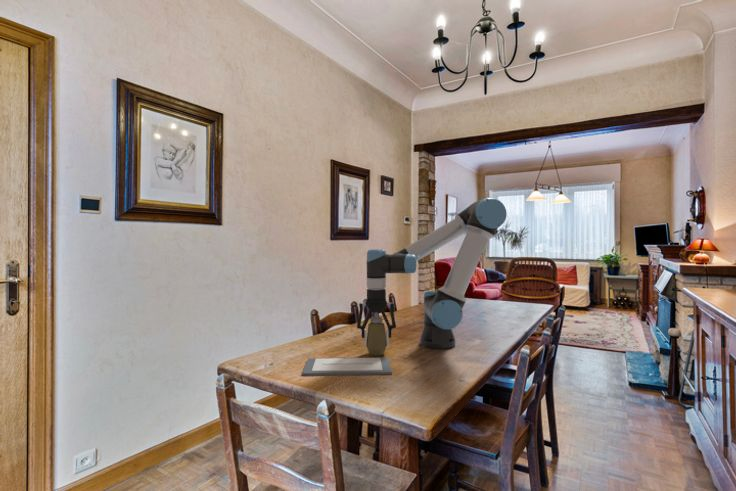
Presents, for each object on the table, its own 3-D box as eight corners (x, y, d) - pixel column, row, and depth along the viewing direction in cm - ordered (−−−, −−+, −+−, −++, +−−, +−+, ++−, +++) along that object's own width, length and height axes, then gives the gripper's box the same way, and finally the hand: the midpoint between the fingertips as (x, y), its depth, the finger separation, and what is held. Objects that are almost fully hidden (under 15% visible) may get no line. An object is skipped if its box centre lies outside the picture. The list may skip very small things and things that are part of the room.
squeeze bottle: (384, 357, 148) (384, 310, 147) (364, 356, 149) (364, 310, 149) (388, 351, 156) (388, 307, 155) (368, 350, 157) (368, 306, 157)
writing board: (387, 359, 146) (387, 356, 146) (391, 374, 130) (391, 371, 130) (308, 360, 145) (308, 357, 145) (302, 375, 129) (302, 372, 129)
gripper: (401, 287, 156) (401, 343, 157) (350, 287, 156) (350, 343, 156) (403, 289, 149) (403, 348, 149) (349, 289, 148) (350, 348, 148)
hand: (376, 345), depth 152 cm, fingers closed on squeeze bottle, 8 cm apart
